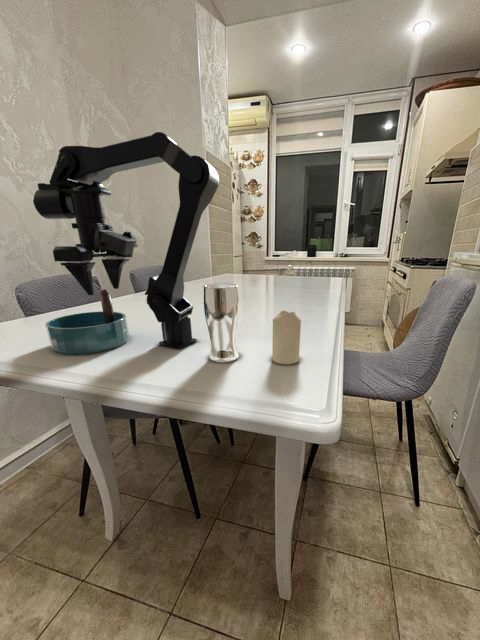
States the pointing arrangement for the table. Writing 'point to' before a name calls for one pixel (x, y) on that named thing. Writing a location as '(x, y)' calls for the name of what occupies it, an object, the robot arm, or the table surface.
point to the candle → (286, 338)
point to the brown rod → (107, 306)
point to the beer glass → (222, 320)
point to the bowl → (86, 333)
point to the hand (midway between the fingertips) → (104, 291)
